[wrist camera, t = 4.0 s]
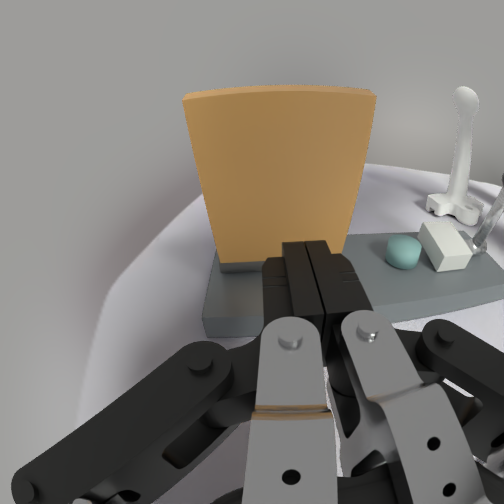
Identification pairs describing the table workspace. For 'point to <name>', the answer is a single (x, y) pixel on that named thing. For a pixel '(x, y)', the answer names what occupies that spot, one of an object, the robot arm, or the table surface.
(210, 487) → the table surface
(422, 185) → the table surface
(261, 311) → the panel
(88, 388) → the table surface
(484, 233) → the toggle lever
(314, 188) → the tan flat slab
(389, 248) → the push button
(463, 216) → the joystick
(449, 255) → the block
